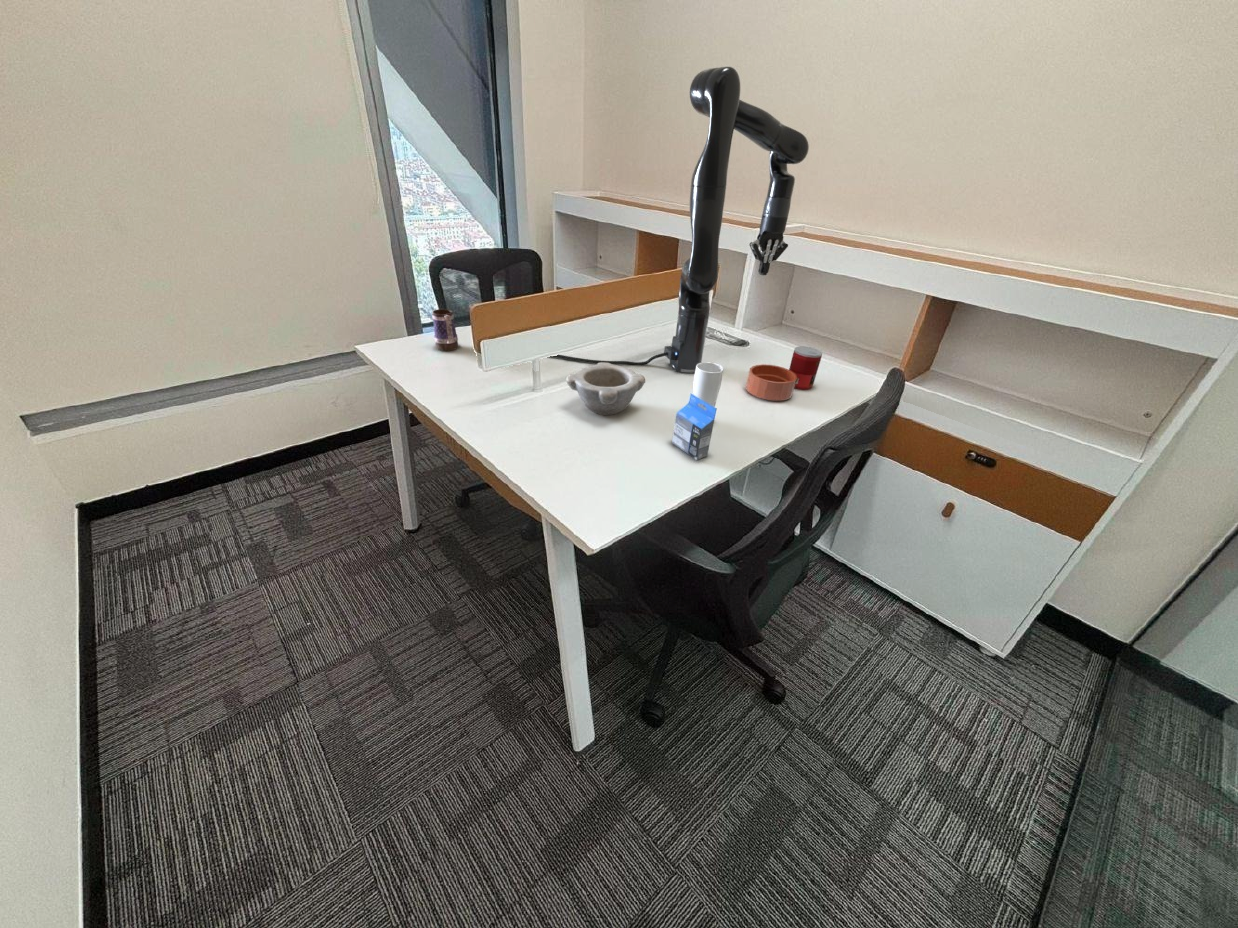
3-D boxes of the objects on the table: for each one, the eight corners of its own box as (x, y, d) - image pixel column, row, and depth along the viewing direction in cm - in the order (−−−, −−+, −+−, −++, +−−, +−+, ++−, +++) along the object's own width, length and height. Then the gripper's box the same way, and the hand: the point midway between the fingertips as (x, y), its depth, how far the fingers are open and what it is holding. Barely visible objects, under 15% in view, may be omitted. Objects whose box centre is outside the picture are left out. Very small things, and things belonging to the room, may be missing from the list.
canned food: (814, 391, 149) (824, 356, 143) (787, 388, 150) (796, 353, 144) (810, 381, 155) (819, 347, 149) (784, 378, 156) (792, 344, 150)
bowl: (761, 404, 139) (766, 384, 136) (737, 384, 150) (740, 366, 147) (800, 400, 143) (806, 380, 140) (774, 381, 154) (779, 362, 151)
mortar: (560, 405, 131) (560, 373, 126) (604, 388, 142) (606, 357, 137) (605, 429, 122) (607, 396, 117) (649, 408, 133) (652, 377, 128)
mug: (433, 345, 162) (428, 308, 155) (455, 342, 165) (451, 306, 158) (440, 356, 155) (435, 317, 148) (463, 353, 158) (459, 315, 151)
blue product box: (671, 443, 119) (677, 396, 112) (683, 439, 120) (690, 392, 114) (696, 460, 113) (704, 412, 106) (708, 456, 115) (717, 408, 108)
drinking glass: (707, 430, 125) (717, 375, 117) (683, 422, 128) (691, 367, 119) (717, 420, 130) (728, 366, 121) (694, 412, 132) (702, 359, 124)
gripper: (786, 212, 153) (773, 271, 162) (749, 211, 149) (738, 272, 158) (801, 216, 147) (787, 277, 156) (763, 215, 143) (750, 277, 153)
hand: (762, 274), depth 157 cm, fingers closed
